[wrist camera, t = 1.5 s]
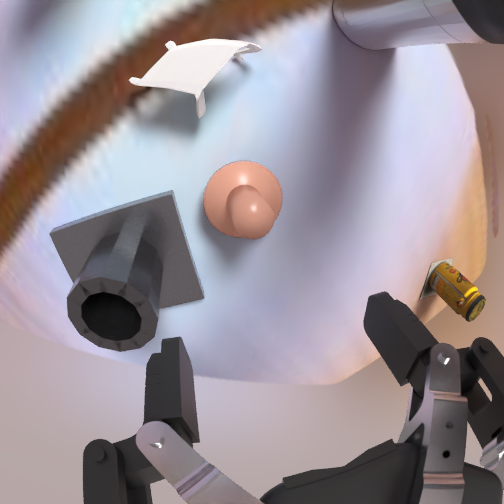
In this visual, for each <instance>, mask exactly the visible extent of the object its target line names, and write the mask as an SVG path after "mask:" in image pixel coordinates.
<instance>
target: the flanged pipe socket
mask: <svg viewBox="0 0 504 504" xmlns="http://www.w3.org/2000/svg"><path fill="white" fill-rule="evenodd" d="M49 234H50V236H51V238H52V241H53V243H54V245H55V247H56V249H57V251H58V254H59V256H60V258H61V260H62V262H63V264H64V266H65V268H66V270H67V272H68V274H69V276H70V278H71V279H72V281H73V283H74V284H73V286H72V288H71V290H70V292H69V294H68V297H67V309H68V317H69V319H70V321H71V322H72V324H73V325H74V327H75V328H76V330H77V331H78V332H79V334H80V335H81V336H83V337H84V338H86V339H87V340H89V341H91V342H92V343H94V344H95V345H97V346H98V347H102V348H106V349H111V350H115V351H120V352H121V351H127V350H133V349H138V348H141V347H143V346H144V345H145V344H146V343H147V342H149V341H150V340H151V339H152V338H153V337H155V332H156V327H157V322H158V315H159V309H160V308H164V307H169V306H173V305H178V304H182V303H186V302H190V301H195V300H199V299H203V298H204V291H203V288H202V285H201V282H200V279H199V276H198V272H197V269H196V266H195V263H194V260H193V257H192V254H191V250H190V247H189V244H188V241H187V237H186V234H185V231H184V227H183V224H182V221H181V217H180V214H179V210H178V207H177V203H176V200H175V196H174V192H173V190H171V191H168V192H164V193H160V194H157V195H153V196H150V197H146V198H143V199H140V200H136V201H133V202H130V203H126V204H123V205H120V206H117V207H114V208H111V209H107V210H104V211H101V212H98V213H95V214H92V215H90V216H87V217H84V218H81V219H78V220H75V221H73V222H70V223H67V224H64V225H62V226H59V227H56V228H54V229H53V230H52V231H51V232H50V233H49Z"/></svg>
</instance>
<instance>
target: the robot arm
mask: <svg viewBox="0 0 504 504" xmlns="http://www.w3.org/2000/svg"><path fill="white" fill-rule="evenodd" d="M333 12H334V16H335V19H336V22H337V24H338V26H339V27H340V29H341V30H342V31H343V33H344V34H345V35H346V36H347V37H348V38H349V39H350V40H351V41H353V42H354V43H355V44H357V45H359V46H361V47H363V48H366V49H369V50H381V49H388V48H396V47H405V46H414V45H425V44H441V43H493V44H504V0H334V3H333ZM364 329H365V332H366V334H367V335H368V337H369V338H370V340H371V341H372V343H373V344H374V346H375V347H376V349H377V350H378V352H379V353H380V355H381V356H382V358H383V359H384V361H385V362H386V364H387V365H388V367H389V369H390V370H391V371H392V373H393V375H394V376H395V378H396V379H397V381H398V383H399V384H400V386H403V385H405V384H407V383H410V384H411V388H410V393H409V400H408V407H407V413H406V419H405V424H404V428H403V430H402V432H401V434H400V437H399V440H398V443H394V442H393V440H392V439H390V440H388V441H386V442H384V443H382V444H379V445H377V446H375V447H373V448H371V449H368V450H367V451H365V452H364V453H363V454H361V455H360V456H358V457H357V458H355V459H354V460H353V461H351V462H350V463H348V464H347V465H345V466H343V467H337V468H328V469H317V470H310V471H307V472H303V473H299V474H296V475H292V476H288V477H285V478H283V482H282V483H280V484H279V485H277V486H275V487H273V488H272V489H270V490H269V491H268V492H266V493H265V494H264V495H263V496H262V497H261V498H260V499H259V500H258V499H257V498H255V497H254V496H252V495H251V494H250V493H248V492H247V491H246V490H244V489H243V488H242V487H240V486H239V485H237V484H236V483H235V482H234V481H232V480H231V479H230V478H228V477H227V476H226V475H225V474H223V473H222V472H221V471H220V470H218V469H217V468H216V467H214V466H213V465H211V464H210V463H208V462H207V461H206V460H205V459H204V458H203V457H201V456H200V455H199V454H198V453H197V452H196V451H195V450H194V449H193V443H198V442H200V439H199V431H198V422H197V413H196V402H195V392H194V381H193V380H194V379H193V370H192V365H191V361H190V358H189V356H188V353H187V351H186V348H185V346H184V343H183V340H182V338H181V337H174V338H168V339H163V340H162V345H161V353H154V354H152V355H151V357H150V359H149V361H148V363H147V367H146V383H145V385H146V387H145V405H144V422H143V425H142V427H141V428H140V429H139V430H138V432H137V434H135V435H134V436H132V437H130V438H128V439H125V440H122V441H119V442H116V443H113V444H112V443H110V442H109V441H107V440H103V439H97V440H93V441H91V442H90V443H89V444H88V445H87V446H86V448H85V450H84V453H83V454H84V455H83V497H84V504H153V503H152V497H151V489H150V484H151V483H154V482H156V481H160V480H162V479H166V480H167V481H168V482H169V483H170V484H171V485H172V486H173V487H174V488H175V489H176V490H177V492H178V494H179V495H180V496H181V497H182V498H183V499H184V500H185V501H186V502H187V503H188V504H502V495H503V490H504V357H503V355H502V354H501V353H500V352H499V350H498V349H497V348H496V346H495V345H494V344H493V343H492V342H491V341H490V340H488V339H486V338H483V337H479V338H476V339H475V340H474V341H473V343H472V345H471V346H470V347H467V348H461V349H455V348H454V347H453V346H451V345H450V344H446V343H439V342H438V341H437V340H436V339H435V338H434V337H433V335H432V334H431V333H430V332H429V331H428V329H427V328H426V327H425V326H424V325H423V323H422V322H421V321H419V319H418V318H417V316H416V315H415V314H413V312H412V311H411V310H410V308H409V307H408V306H407V305H406V304H404V303H402V302H400V301H399V300H394V299H393V298H392V297H391V296H390V295H389V294H388V293H387V292H385V291H384V292H381V293H377V294H374V295H371V296H369V298H368V302H367V307H366V312H365V317H364ZM480 378H481V379H482V380H483V382H484V383H485V384H486V386H487V388H488V389H489V391H490V392H491V394H492V402H491V401H490V400H489V398H488V397H487V395H486V393H485V392H484V390H483V389H482V387H481V386H480V384H479V383H478V381H479V379H480ZM467 421H468V423H469V424H470V426H471V428H472V430H473V432H474V434H475V435H476V437H477V439H478V441H479V443H480V445H481V447H482V449H483V454H482V457H481V458H480V464H481V465H482V466H484V468H481V467H478V466H475V465H472V464H469V463H466V462H464V457H465V448H466V436H467Z"/></svg>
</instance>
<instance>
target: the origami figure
mask: <svg viewBox="0 0 504 504" xmlns="http://www.w3.org/2000/svg"><path fill="white" fill-rule="evenodd" d="M165 45H166V47H167V48H168V49H169V51H168V52H167V53H166V54H165V55H164V56H163V57H162V58H161V59H160V60H159V61H158V62H157V63H156V64H155V65H154V66H153V67H152V68H151V69H150V70H149V71H148V72H147V74H146V75H145V76H144V77H143V78H142V79H138V78H134V77H132V78H130V79H129V81H130V82H131V84H133V85H140V86H150V87H162V88H170V89H174V90H179V91H183V92H187V93H192V94H195V97H196V109H197V116H198V118H199V119H201V117H202V116H203V114H204V113H205V111H206V106H205V98H204V88H205V86H206V85H207V84H208V83H209V82H210V80H211V79H212V78H213V77H214V76H215V75H216V73H217V72H218V71H219V70H220V69H221V68H222V67H223V65H224V64H225V63H226V62H227V61H228V60H229V59H230V58H231V57H232V56H233V55H234V56H235V57H236V59H237V60H238V61H239V62H240V61H241V60H243V58H242V57H241V56H240V54H245V53H252V52H258V51H260V50H262V48H261V47H260V46H259V45H256V44H253V43H249V42H244V41H236V40H224V39H208V40H202V41H197V42H192V43H188V44H184V45H179V46H176V44H175V43H174V42H173V41H169V42H168V43H167V44H165ZM243 46H244V47H247V49H243V50H240V51H237V50H238V49H239V48H240V47H243Z"/></svg>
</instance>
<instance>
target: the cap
mask: <svg viewBox="0 0 504 504" xmlns="http://www.w3.org/2000/svg"><path fill="white" fill-rule="evenodd" d="M281 205H282V190H281V187H280V184H279V182H278V180H277V179H276V177H275V176H274V175H273V174H272V173H271V172H270V171H269V170H268V169H267V168H265V167H264V166H262V165H260V164H258V163H255V162H251V161H236V162H232V163H229V164H227V165H225V166H223V167H221V168H220V169H219V170H217V171H216V172H215V173H214V174H213V175H212V177H211V178H210V179H209V181H208V183H207V185H206V188H205V191H204V208H205V212H206V215H207V217H208V219H209V221H210V222H211V224H212V225H213V226H214V227H215V228H216V229H217V230H218V231H220V232H222V233H224V234H226V235H229V236H232V237H244V238H247V239H258V238H261V237H263V236H265V235H266V234H267V233H268V232H269V231H270V230H271V228H272V227H273V224H274V221H275V219H276V218H277V216H278V214H279V212H280V209H281Z"/></svg>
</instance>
